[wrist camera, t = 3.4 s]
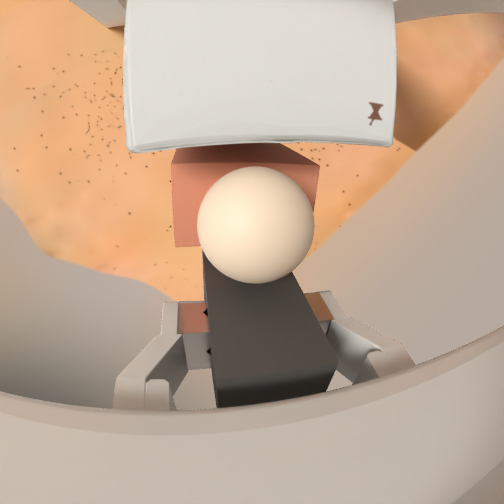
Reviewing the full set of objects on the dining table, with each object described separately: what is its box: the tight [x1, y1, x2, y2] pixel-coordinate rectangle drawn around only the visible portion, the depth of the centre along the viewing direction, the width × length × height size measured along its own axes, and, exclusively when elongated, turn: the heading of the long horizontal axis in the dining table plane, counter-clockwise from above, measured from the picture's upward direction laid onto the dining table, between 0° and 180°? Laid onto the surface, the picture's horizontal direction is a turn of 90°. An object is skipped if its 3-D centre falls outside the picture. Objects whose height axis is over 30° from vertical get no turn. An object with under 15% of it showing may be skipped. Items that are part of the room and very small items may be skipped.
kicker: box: [171, 143, 339, 408], centre depth 12 cm, size 7×5×14 cm
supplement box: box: [123, 0, 397, 153], centre depth 10 cm, size 7×7×13 cm
